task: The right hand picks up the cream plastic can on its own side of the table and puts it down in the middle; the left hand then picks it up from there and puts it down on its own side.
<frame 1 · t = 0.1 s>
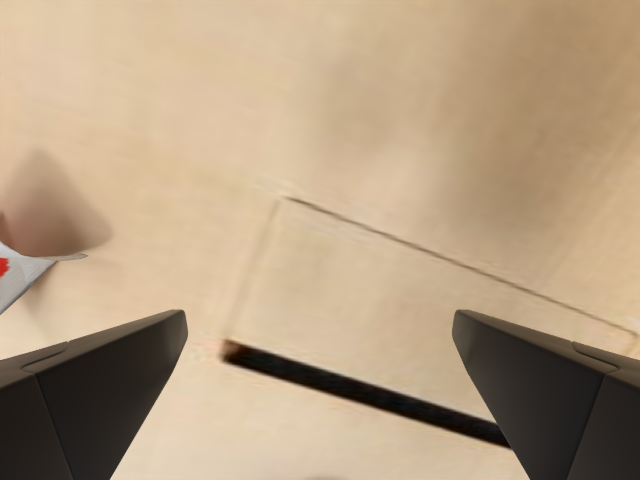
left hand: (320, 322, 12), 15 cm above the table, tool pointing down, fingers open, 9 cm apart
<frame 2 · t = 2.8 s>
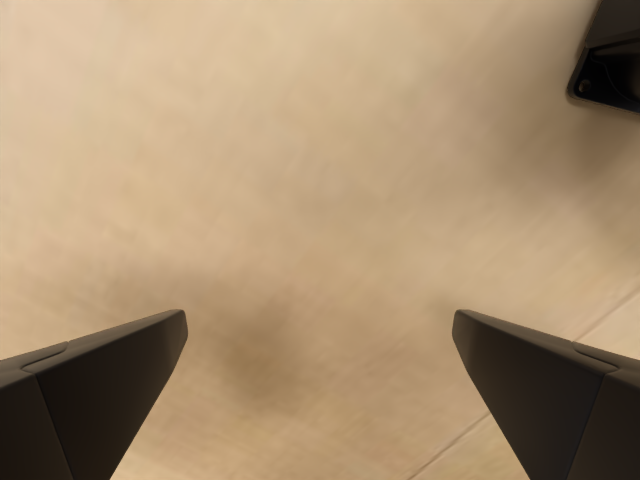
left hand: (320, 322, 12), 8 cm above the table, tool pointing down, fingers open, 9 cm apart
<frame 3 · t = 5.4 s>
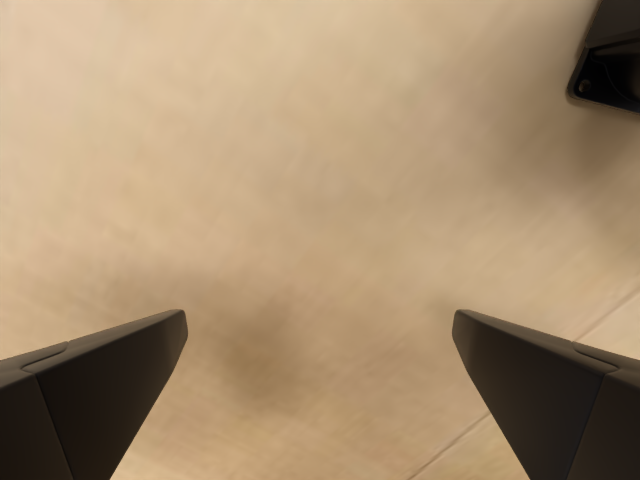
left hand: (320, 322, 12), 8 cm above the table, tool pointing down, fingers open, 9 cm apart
when the right hand's fingers open (2 cm above the table, at t = 8.0 s): can stays where it is, on the table.
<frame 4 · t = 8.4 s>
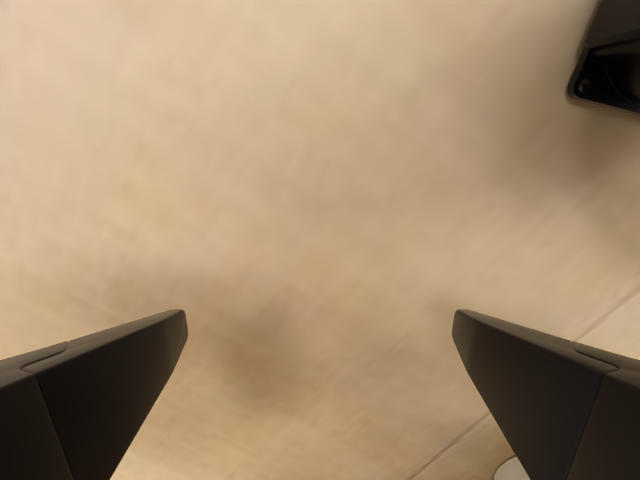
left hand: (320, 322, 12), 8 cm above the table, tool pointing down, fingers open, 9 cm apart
can: (525, 476, 26), on the table
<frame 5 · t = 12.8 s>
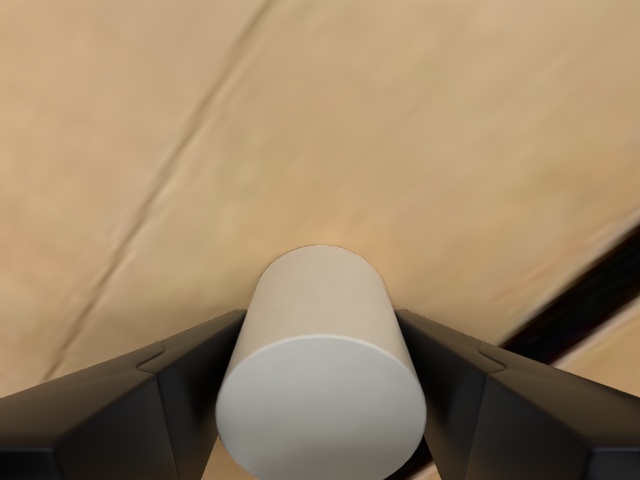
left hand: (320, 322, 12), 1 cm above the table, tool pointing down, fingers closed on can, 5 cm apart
can: (320, 306, 12), on the table, touching left hand
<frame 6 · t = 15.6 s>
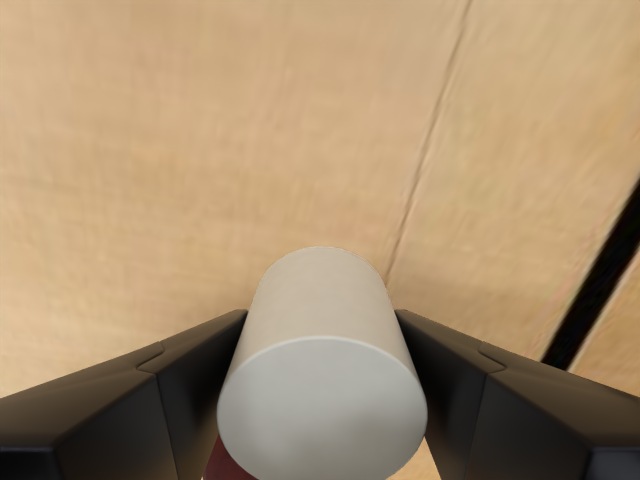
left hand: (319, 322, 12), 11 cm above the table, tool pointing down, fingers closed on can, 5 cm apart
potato: (265, 404, 27), on the table
can: (321, 306, 13), point 10 cm above the table, touching left hand
when the left hand's fingers open (2 cm above the table, at t = 18.8 s): can stays where it is, on the table.
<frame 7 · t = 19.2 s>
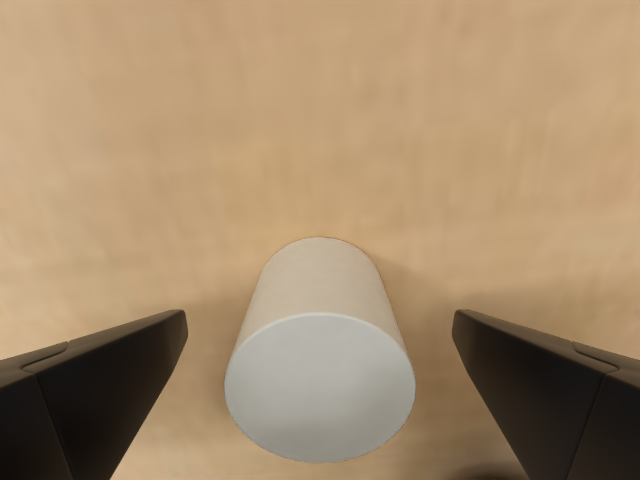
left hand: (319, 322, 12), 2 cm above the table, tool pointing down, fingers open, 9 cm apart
can: (319, 295, 13), on the table
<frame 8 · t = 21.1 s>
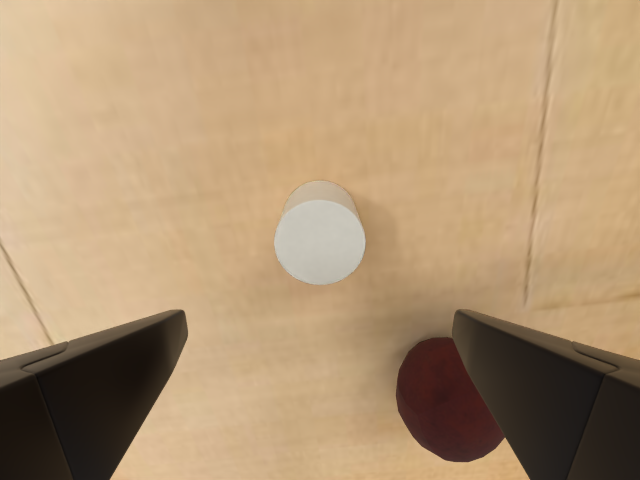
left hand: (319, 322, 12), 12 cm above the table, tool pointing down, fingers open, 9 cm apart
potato: (434, 357, 27), on the table
can: (319, 216, 23), on the table
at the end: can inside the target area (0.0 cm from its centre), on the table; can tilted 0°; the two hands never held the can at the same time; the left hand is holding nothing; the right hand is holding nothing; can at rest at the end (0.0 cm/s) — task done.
